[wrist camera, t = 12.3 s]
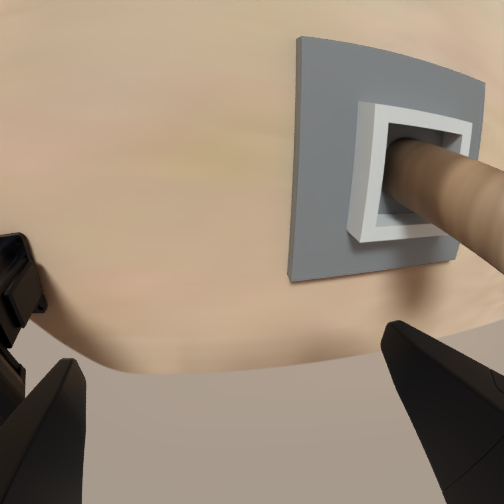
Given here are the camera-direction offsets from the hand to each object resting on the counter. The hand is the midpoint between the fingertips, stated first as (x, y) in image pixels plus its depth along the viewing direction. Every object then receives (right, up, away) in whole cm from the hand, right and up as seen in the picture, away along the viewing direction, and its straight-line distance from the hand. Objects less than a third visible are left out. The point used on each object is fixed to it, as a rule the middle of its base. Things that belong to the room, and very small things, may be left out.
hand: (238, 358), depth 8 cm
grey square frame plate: (+11, +9, +13) cm, 19 cm away
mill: (+11, +8, +12) cm, 18 cm away
